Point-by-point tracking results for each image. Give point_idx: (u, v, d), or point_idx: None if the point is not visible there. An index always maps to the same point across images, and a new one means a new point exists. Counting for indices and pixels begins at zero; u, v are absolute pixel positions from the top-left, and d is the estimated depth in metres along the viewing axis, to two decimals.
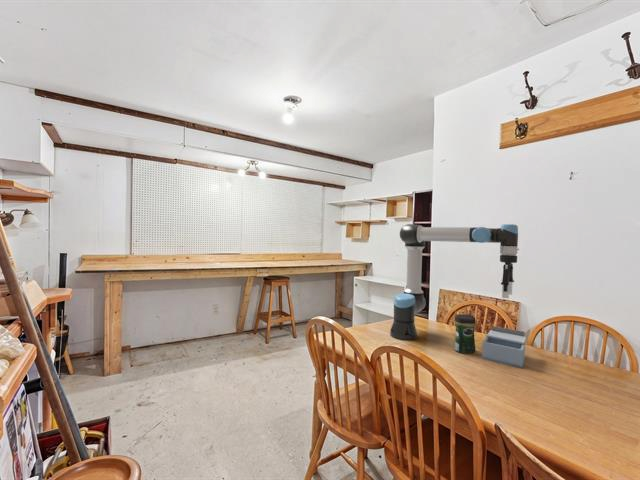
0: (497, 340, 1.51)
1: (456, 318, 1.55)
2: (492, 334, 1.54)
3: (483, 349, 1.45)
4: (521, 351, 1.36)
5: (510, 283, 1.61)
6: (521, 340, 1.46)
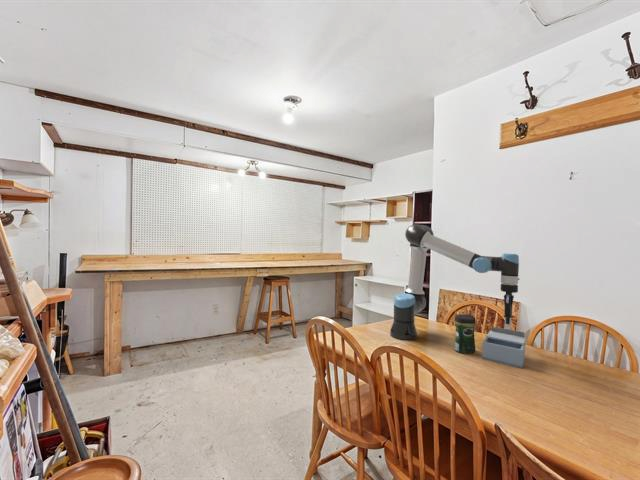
0: (497, 340, 1.51)
1: (456, 318, 1.55)
2: (492, 335, 1.53)
3: (483, 349, 1.45)
4: (521, 351, 1.36)
5: None
6: (521, 341, 1.45)
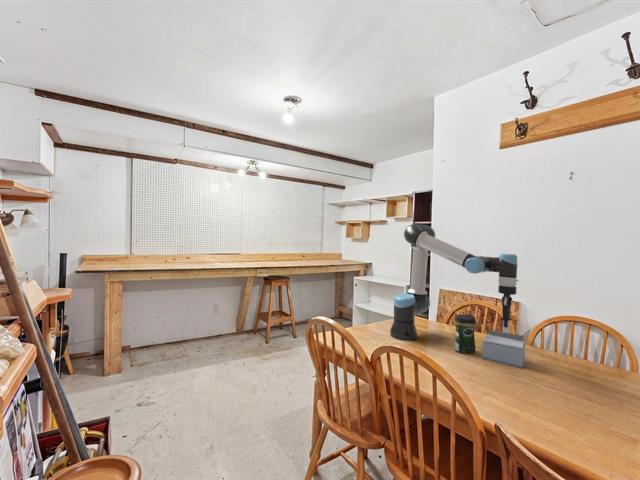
0: None
1: (456, 318, 1.55)
2: (489, 338, 1.47)
3: (483, 349, 1.45)
4: (521, 351, 1.36)
5: None
6: (519, 345, 1.39)
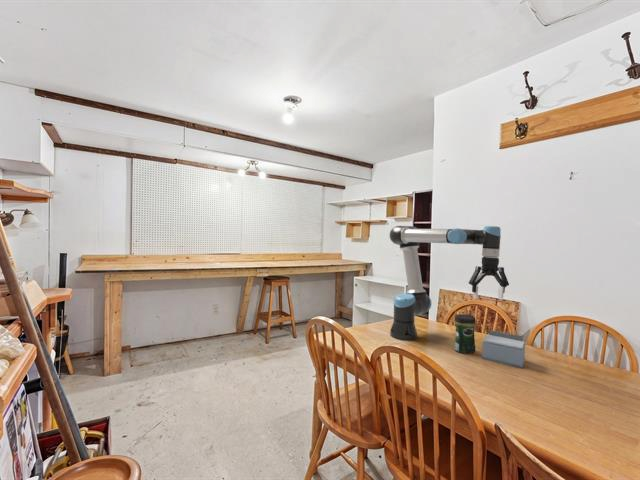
0: None
1: (456, 318, 1.55)
2: (489, 338, 1.47)
3: (483, 349, 1.45)
4: (521, 351, 1.36)
5: (501, 288, 1.54)
6: (519, 345, 1.39)
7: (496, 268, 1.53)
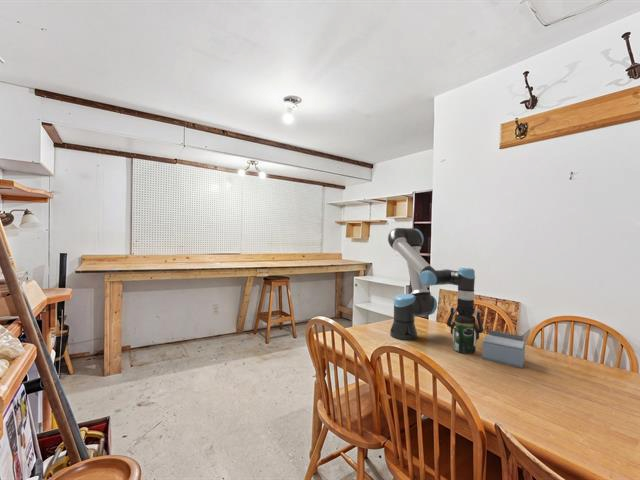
0: None
1: (456, 318, 1.55)
2: (489, 338, 1.47)
3: (483, 349, 1.45)
4: (521, 351, 1.36)
5: None
6: (519, 345, 1.39)
7: (471, 310, 1.52)
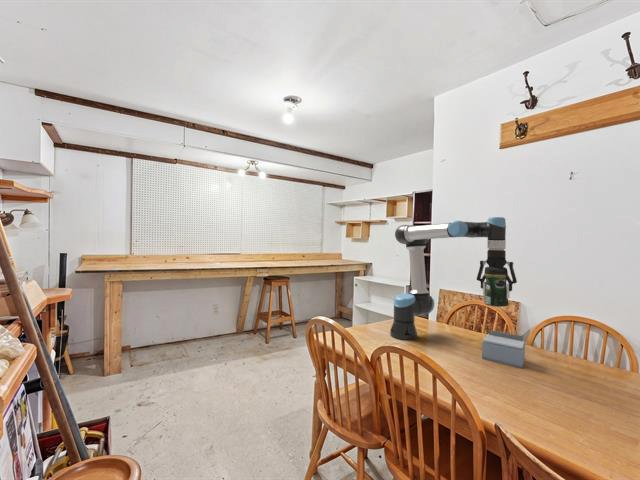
0: None
1: (486, 270, 1.46)
2: (489, 338, 1.47)
3: (483, 349, 1.45)
4: (521, 351, 1.36)
5: (507, 285, 1.43)
6: (519, 345, 1.39)
7: (502, 261, 1.44)
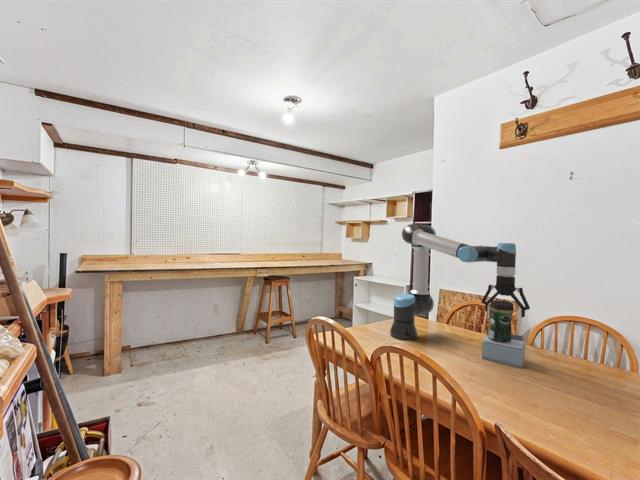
0: None
1: (492, 304, 1.44)
2: (489, 338, 1.47)
3: (483, 349, 1.45)
4: (521, 351, 1.36)
5: None
6: (519, 345, 1.39)
7: (512, 288, 1.42)
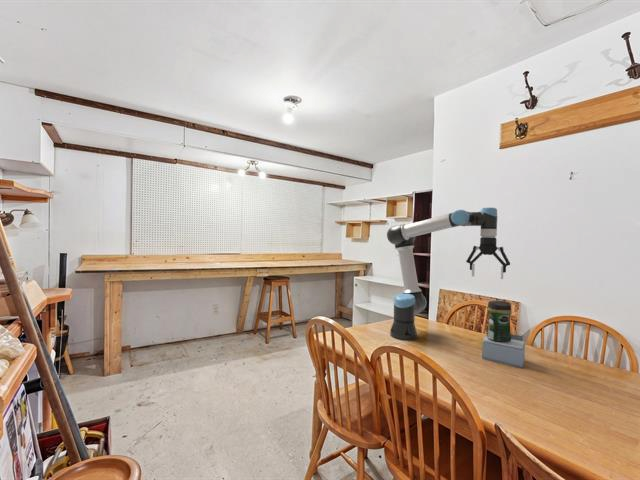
0: None
1: (490, 305, 1.45)
2: None
3: (483, 349, 1.45)
4: (521, 351, 1.36)
5: (501, 267, 1.57)
6: (519, 345, 1.39)
7: (493, 247, 1.58)
